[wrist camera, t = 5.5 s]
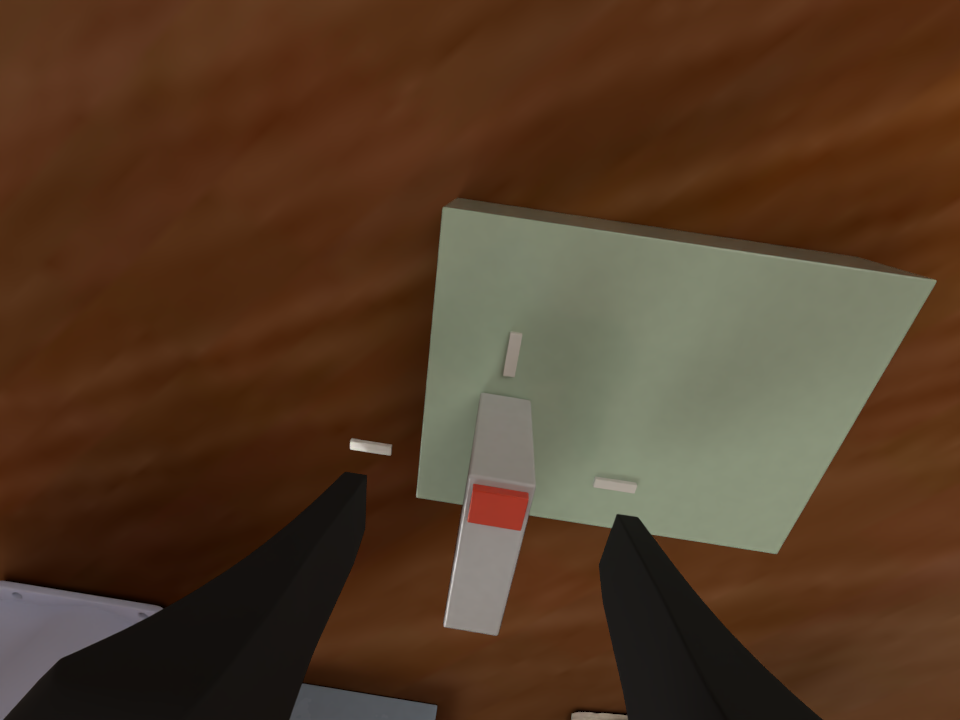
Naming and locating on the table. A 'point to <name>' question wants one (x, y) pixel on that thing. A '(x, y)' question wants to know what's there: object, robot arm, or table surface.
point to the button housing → (355, 706)
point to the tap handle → (492, 514)
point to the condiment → (597, 716)
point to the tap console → (654, 366)
